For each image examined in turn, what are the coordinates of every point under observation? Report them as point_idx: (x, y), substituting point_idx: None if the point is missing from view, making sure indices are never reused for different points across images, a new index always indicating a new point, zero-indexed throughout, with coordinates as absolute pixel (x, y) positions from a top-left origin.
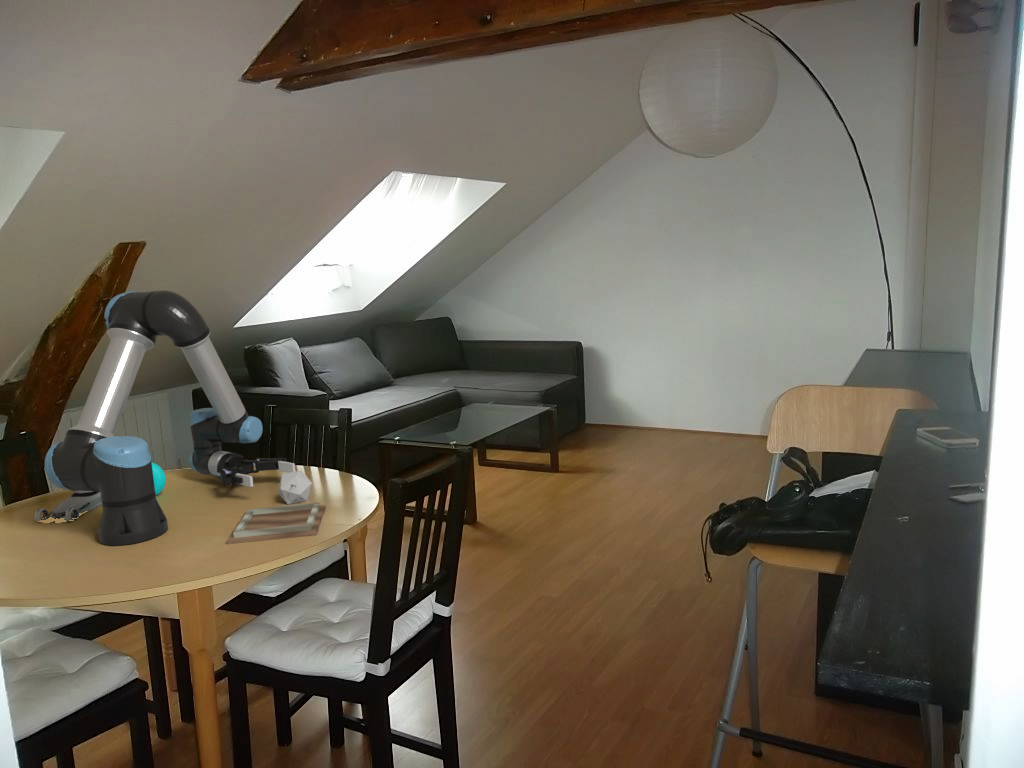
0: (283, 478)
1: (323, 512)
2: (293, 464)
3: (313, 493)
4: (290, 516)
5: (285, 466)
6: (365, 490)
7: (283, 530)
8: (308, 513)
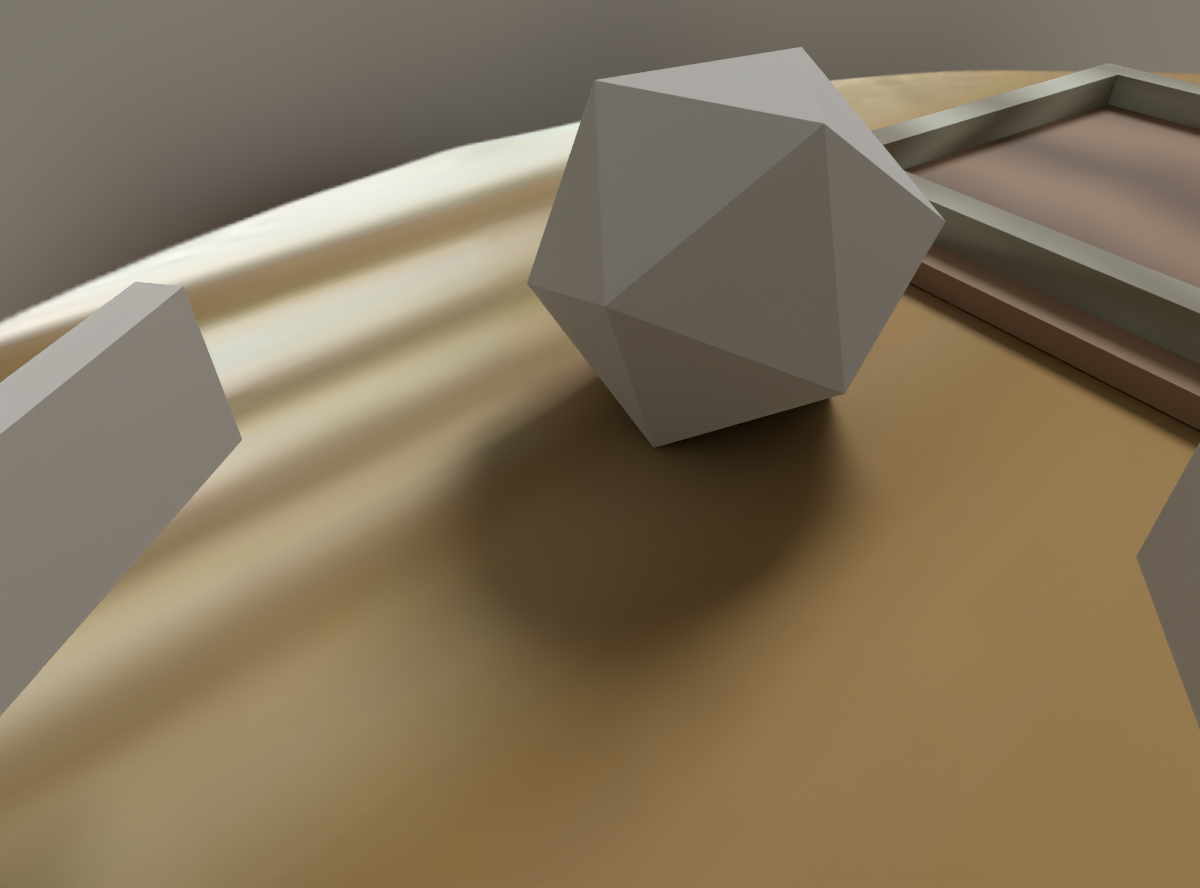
0: (860, 141)
1: None
2: (162, 297)
3: (449, 393)
4: (1060, 206)
5: (49, 501)
6: (342, 199)
7: None
8: (939, 173)
